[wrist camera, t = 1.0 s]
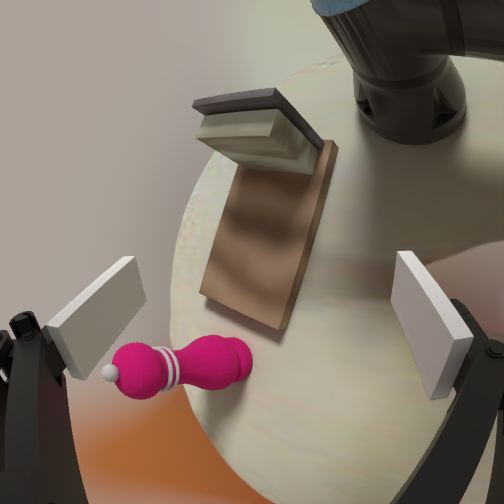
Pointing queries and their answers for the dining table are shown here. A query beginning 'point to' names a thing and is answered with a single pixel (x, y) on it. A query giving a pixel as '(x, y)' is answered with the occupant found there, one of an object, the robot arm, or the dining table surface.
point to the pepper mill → (178, 366)
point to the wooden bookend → (264, 201)
